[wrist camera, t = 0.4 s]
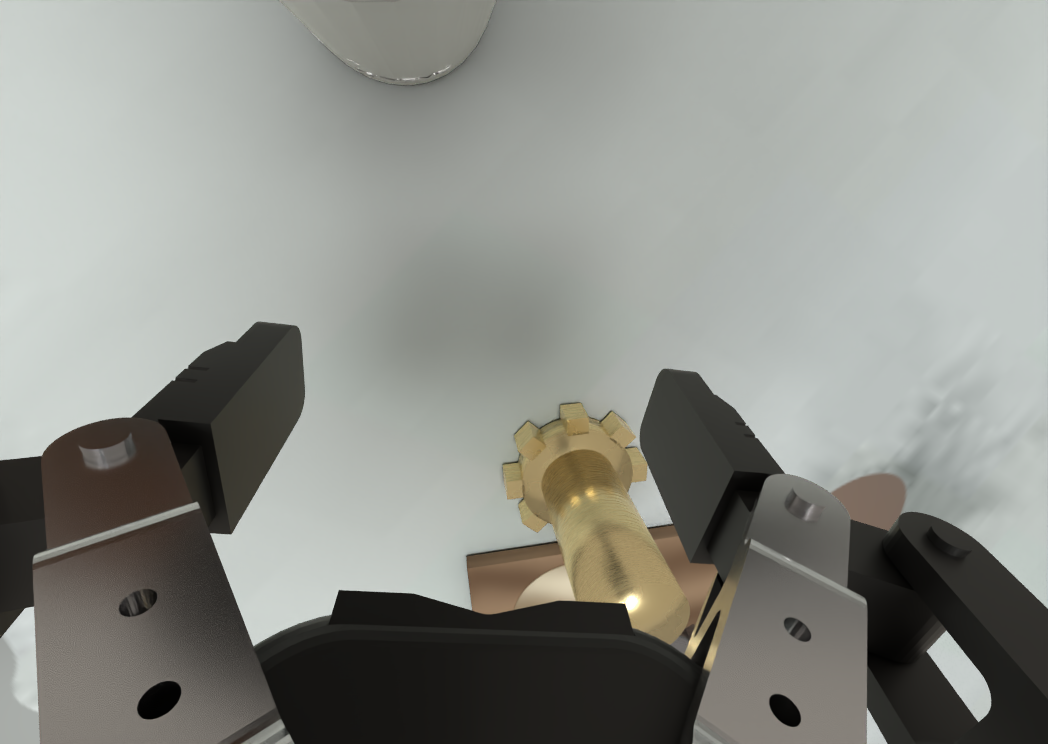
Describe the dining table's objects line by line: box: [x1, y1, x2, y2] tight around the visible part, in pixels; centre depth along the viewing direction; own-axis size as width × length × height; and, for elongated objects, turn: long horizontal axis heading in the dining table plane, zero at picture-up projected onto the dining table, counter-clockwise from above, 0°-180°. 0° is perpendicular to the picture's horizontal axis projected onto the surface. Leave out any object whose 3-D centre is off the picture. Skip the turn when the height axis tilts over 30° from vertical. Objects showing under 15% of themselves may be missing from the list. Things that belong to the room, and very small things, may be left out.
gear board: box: [466, 525, 717, 628], centre depth 41 cm, size 18×20×1 cm
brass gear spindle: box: [503, 403, 690, 644], centre depth 28 cm, size 10×10×13 cm
